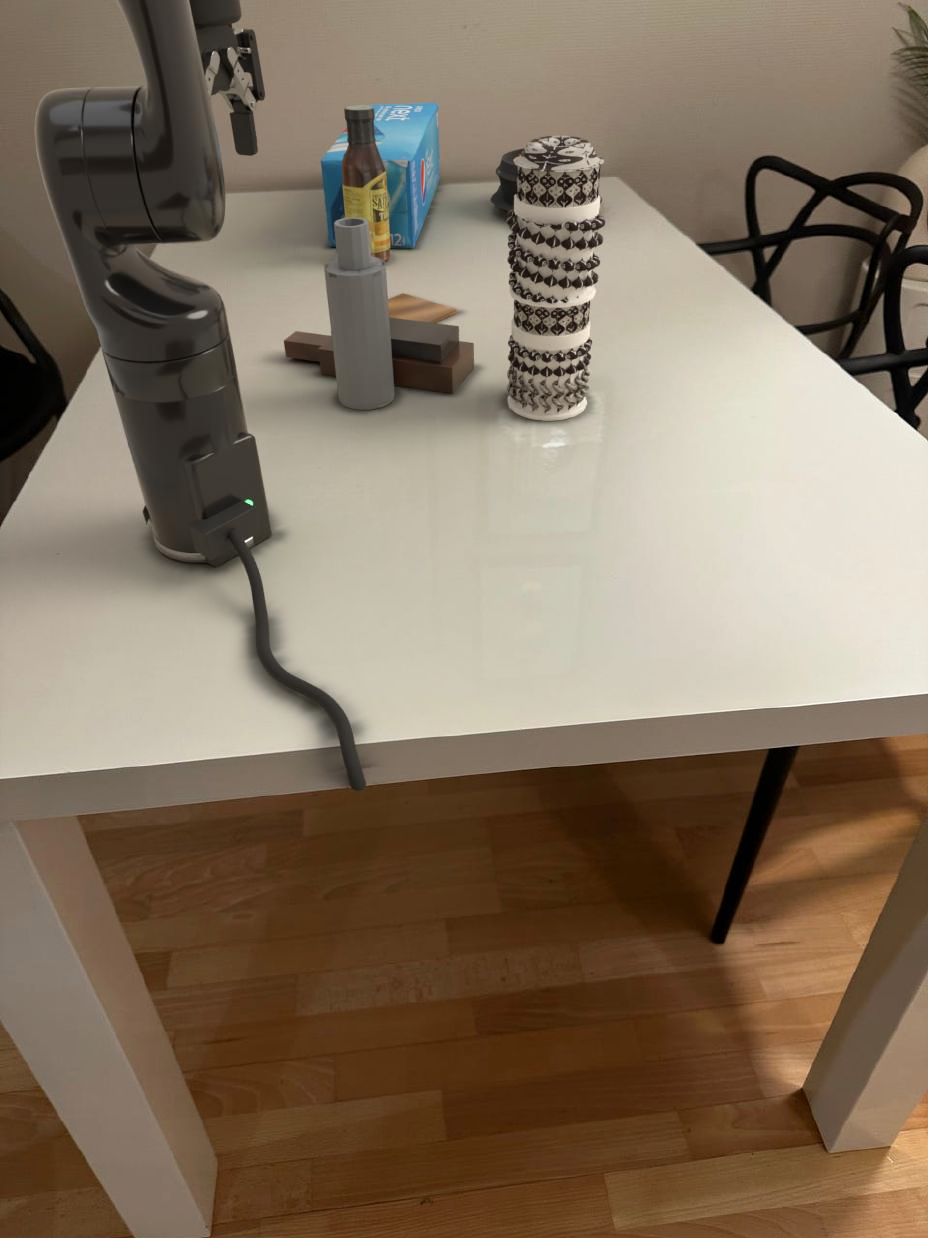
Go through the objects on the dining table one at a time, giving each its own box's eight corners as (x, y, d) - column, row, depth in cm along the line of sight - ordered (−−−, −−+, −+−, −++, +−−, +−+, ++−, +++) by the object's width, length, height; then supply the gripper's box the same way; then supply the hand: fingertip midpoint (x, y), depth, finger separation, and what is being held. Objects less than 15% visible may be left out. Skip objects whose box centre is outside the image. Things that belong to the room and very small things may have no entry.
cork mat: (456, 312, 115) (456, 308, 115) (406, 335, 110) (406, 331, 109) (402, 296, 120) (402, 292, 120) (352, 317, 114) (352, 313, 114)
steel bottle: (406, 395, 97) (395, 220, 85) (367, 415, 93) (350, 235, 82) (366, 380, 100) (351, 209, 88) (327, 399, 96) (306, 223, 85)
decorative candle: (519, 428, 91) (527, 157, 75) (493, 389, 98) (494, 134, 82) (603, 415, 92) (628, 148, 77) (571, 379, 99) (588, 127, 83)
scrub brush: (474, 368, 102) (473, 325, 99) (452, 393, 97) (451, 349, 94) (306, 344, 108) (301, 303, 105) (278, 367, 103) (271, 325, 100)
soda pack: (369, 180, 167) (363, 102, 159) (442, 181, 166) (440, 102, 158) (326, 248, 136) (316, 155, 128) (415, 249, 135) (411, 155, 127)
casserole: (476, 195, 158) (476, 142, 153) (577, 188, 161) (580, 136, 156) (508, 237, 139) (509, 178, 134) (622, 228, 142) (628, 170, 137)
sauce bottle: (384, 268, 129) (374, 112, 116) (343, 265, 130) (328, 111, 117) (396, 253, 134) (387, 102, 121) (356, 251, 135) (343, 101, 122)
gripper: (175, -37, 70) (215, 185, 81) (270, -49, 81) (294, 150, 91) (98, -38, 73) (146, 179, 83) (199, -49, 83) (231, 145, 93)
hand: (223, 163), depth 87 cm, fingers open, 8 cm apart
